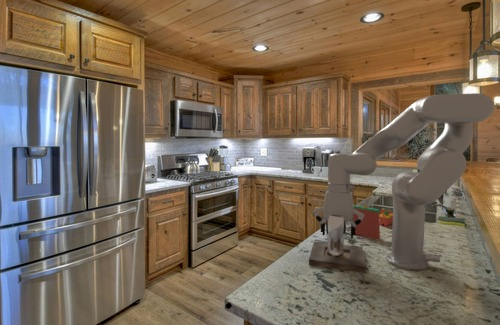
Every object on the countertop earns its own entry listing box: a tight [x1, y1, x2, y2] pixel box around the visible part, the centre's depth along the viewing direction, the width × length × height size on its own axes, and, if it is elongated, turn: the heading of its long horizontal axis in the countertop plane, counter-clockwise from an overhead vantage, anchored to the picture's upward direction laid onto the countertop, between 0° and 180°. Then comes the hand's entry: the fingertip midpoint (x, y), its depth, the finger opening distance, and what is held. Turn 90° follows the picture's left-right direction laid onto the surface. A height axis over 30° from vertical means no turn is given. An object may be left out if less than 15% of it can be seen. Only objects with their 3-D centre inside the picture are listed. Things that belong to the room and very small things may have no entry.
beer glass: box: [325, 215, 347, 258], centre depth 99 cm, size 7×7×15 cm
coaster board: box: [308, 241, 367, 274], centre depth 99 cm, size 18×18×2 cm
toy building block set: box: [350, 204, 393, 240], centre depth 135 cm, size 12×35×14 cm, turn 134°
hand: (337, 235), depth 99 cm, fingers open, 9 cm apart
